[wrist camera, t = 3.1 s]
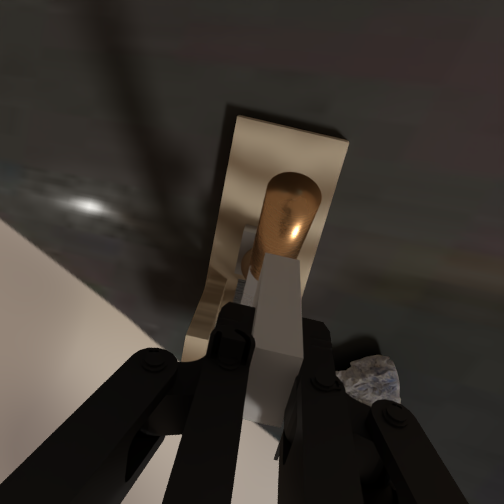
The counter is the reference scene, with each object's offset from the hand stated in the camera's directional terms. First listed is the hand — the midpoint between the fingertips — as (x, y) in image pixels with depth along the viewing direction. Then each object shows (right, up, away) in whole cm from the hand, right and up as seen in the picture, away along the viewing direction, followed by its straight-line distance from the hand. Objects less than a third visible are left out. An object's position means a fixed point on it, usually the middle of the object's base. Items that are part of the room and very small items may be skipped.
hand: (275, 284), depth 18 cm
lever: (0, -1, +17) cm, 17 cm away
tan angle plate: (+1, +4, +28) cm, 28 cm away
